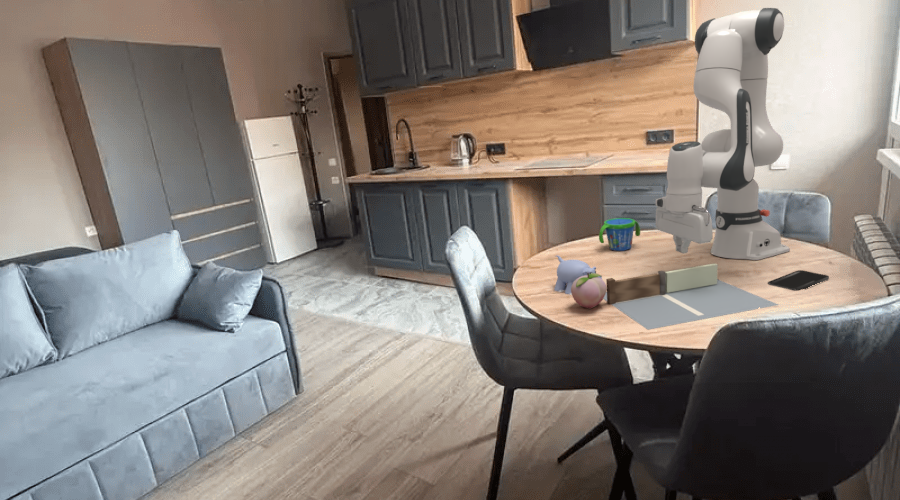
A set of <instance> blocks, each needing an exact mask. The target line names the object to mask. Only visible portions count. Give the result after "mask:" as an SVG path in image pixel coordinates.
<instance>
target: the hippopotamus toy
mask: <svg viewBox="0 0 900 500" xmlns="http://www.w3.org/2000/svg"><path fill="white" fill-rule="evenodd" d="M554 257H557V259H558V262H559V264H558V266H557V268H556V276H557V279H556V283H555V285H554V289H553V291H554V292H559V293H563V292H564V294H565V295H570V296H572V293H571V286H572V284H573V282H574V281H575V280H576V279H577V278H579V277H581V276H585V275H587V273H589V274H592V273H597V267H596V266H593V267H591V266H590V265H589V264H588V263H586V262H585V261H583V260H579V259H565V260H564V259H563V258H562V257H561V256H560V255H555V256H554ZM599 278H601V279H602V280H603V277H600V276H599Z"/></svg>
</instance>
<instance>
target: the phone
mask: <svg viewBox="0 0 900 500" xmlns="http://www.w3.org/2000/svg"><path fill="white" fill-rule="evenodd" d="M828 279H830V276H829V275H827V274H822V273H818V272H817V273H816V272H812V271H809V270H808V271H806V270H795V271H793V272H790V273H788V274H785V275H783V276H780V277H778V278H775V279H772V280H770V281H769V280H768V281H767V284H768V285H770V286H773V287H777V288H782V289H785V290H789V291H790V290H791V291H792V292H794V291H796V292H797V291H801V290H803V289H805V290H807V289H809V288H808V287H810V286H812V285H815V284H817V283H819V284H821V283H820V282H822V283H824V282H826V281H825V280H827V281H829V280H828ZM823 281H824V282H823ZM817 285H818V284H817ZM815 286H816V285H815ZM812 287H813V286H812ZM806 288H807V289H806ZM810 288H811V287H810Z"/></svg>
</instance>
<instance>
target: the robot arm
mask: <svg viewBox="0 0 900 500" xmlns="http://www.w3.org/2000/svg"><path fill="white" fill-rule="evenodd" d="M784 30H785V19H784V15H783V13H782V11H780V10H779V8H775V7H763V8H761V9H751V10H744V11H738V12H736V13H732V14H727V15H725V16H724V15H723V16H722V17H717V18H715V17H714V18H711V19H708V20H706V21H704V22H702V23H701V24H700V26H699V27H698V28H697V30H696V32H695V35H694V47H695V51H696V52H697V54H698V55H699V56H698V59H697V63H696V66H695V73H694V78H693V94H694V95H695V97H696V99H697V100H698V101H699V102H700V103H701V104H703V105H704V106H707V107H709V108H712V109H716V110H718V111H721V112H723V113H724V114H726V115H727V117H728V118H729V120H730V121H729V122H730V128H729V129H727V128H726V129H719V130H716V131H712V132H709V133H708V134H706V136H704V138H703V140H702V141H701V142H699V141H696V140H695V141H693V140H692V141H691V140H689V141H684V142H683V141H682V142H678V143H676V144H674V145H673V146H671V147H670V150H669V154H668V158H667V168H666V179H667V189H666V193H665V194H666V195H665V196H663V197H660V198H656V199H655V201H654V202H655V207H656V209H655V227H656V230H657V231H659V232H663V233H666V234H668V235H672V236H673V237H672V239H673V242H674V245H675V251H676V252H678V253H681V254H688V252H689V246H690V244H691V243H692V242H693V243H696V244H707V243H711V241H712V240H713V242H712V246H711V249H710V254H712V255H713V256H715V257H716V256H717V257H719V258H720V257H721V258H726V259H737V260H750V261H752V260H753V261H758V260H763V259H765V258H766V259H767V258H769V257H773V256H777V255H780V254H785V253H788V252H790V249H791V248H790V247H789V246H787V245H785V244H783V243H782V237H781V233H780V231H779V230H777V229H776V228H774V227H773V226H771V225H770V224H769V223H767V222H765V221H764V219H763V217H769V216H770V214H771V212H770V210H769V209H761V210H760V209H759V206H758V205H759V183H758V182H757V181H756V180H755V179H754V177H755V173H756V172H755V170H756V169H755V168H757V167H764V166H769V165H773V164H774V163H775V162H777V161H778V160H779V158H780V157H781V155H782V154H783V150H784V142H783V139H782V136H781V135H780V134H779V132H777V131H776V130H775V129H774V128H773V126H772V125H771V122H770V120H769V117H768V113H767V106H766V105H767V104H766V103H767V88H768V79H769V78H768V77H769V59H768V54H769V53H770V51H771V50H772V49H774V48H775V47H776V46H777V45H778V44H779V42H780V41H781V40H782V38H783V34H784ZM702 188H710V189H717V191H716V192H717V193H716V195H717V197H716V198H717V199H716V200H717V203H716V204H717V205H716V206H717V208H716V210H715V221H714V222H715V226H716V227H715V233H714V238H713V222H712V217H711V214H710V212H709V211H708V209H707V208H706V207H702V205H703V204H702V201H703V189H702ZM762 216H763V217H762Z"/></svg>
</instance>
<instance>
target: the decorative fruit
mask: <svg viewBox="0 0 900 500" xmlns="http://www.w3.org/2000/svg"><path fill="white" fill-rule="evenodd" d="M599 276H600V277H602V274H599V273H597V272H596V273H592V274H589V273H587V275H585V276H581V277H579V278H577V279H576V280H575V281H574V282H573V284H572V286H571V293H572V295H571V296H572V298H573V300H574V302H576V303H577V305H579V306H581V307H582V308H585V309H592V308H594V307H595V308H596V307H597V306H598V305H599V304H601V302H602V301H603V300H604V299H603V298H604V296H605V294H606V292H607V283H606V282H605V281H604V280H603V277H602V279H601V278H599Z"/></svg>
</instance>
